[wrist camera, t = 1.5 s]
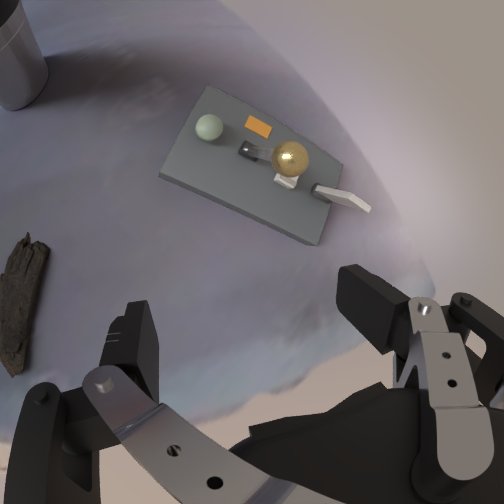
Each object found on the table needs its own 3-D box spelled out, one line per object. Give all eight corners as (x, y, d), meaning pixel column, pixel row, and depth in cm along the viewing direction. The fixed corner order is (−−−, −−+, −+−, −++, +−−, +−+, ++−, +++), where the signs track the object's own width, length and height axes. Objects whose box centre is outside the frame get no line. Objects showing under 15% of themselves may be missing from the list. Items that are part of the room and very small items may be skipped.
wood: (14, 224, 26) (5, 223, 23) (53, 244, 29) (46, 246, 26) (-9, 357, 24) (-17, 365, 21) (26, 378, 27) (20, 388, 24)
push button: (211, 148, 33) (216, 142, 30) (188, 138, 31) (192, 131, 29) (221, 128, 33) (227, 121, 30) (199, 118, 32) (204, 110, 29)
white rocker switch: (288, 188, 37) (294, 188, 35) (273, 180, 36) (279, 180, 34) (298, 165, 36) (304, 164, 35) (283, 157, 36) (290, 155, 34)
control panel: (305, 244, 42) (317, 246, 39) (158, 176, 33) (159, 171, 30) (331, 167, 43) (344, 164, 40) (202, 93, 34) (208, 83, 31)
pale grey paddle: (325, 203, 39) (366, 217, 30) (306, 192, 38) (346, 203, 29) (330, 191, 39) (373, 202, 30) (312, 180, 38) (353, 188, 29)
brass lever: (252, 165, 35) (303, 187, 20) (232, 155, 34) (270, 168, 19) (263, 146, 34) (321, 153, 19) (243, 135, 33) (290, 133, 18)
